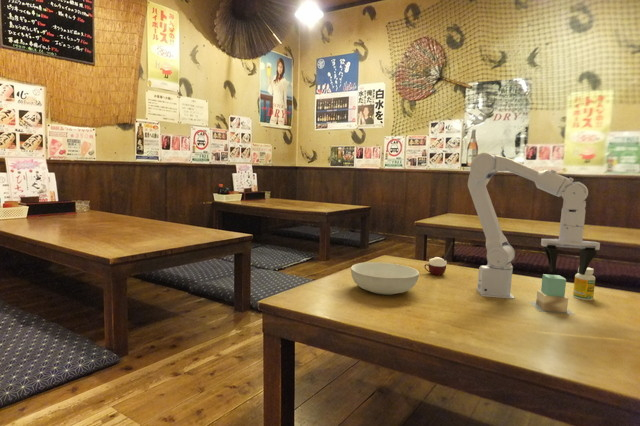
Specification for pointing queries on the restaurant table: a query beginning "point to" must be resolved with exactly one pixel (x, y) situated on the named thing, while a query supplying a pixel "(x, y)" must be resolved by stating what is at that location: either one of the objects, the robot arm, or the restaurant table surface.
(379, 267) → the serving bowl
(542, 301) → the birch block
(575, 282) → the supplement bottle
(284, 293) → the restaurant table surface
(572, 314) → the build pad
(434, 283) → the restaurant table surface
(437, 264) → the cocoa
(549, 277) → the teal cube
